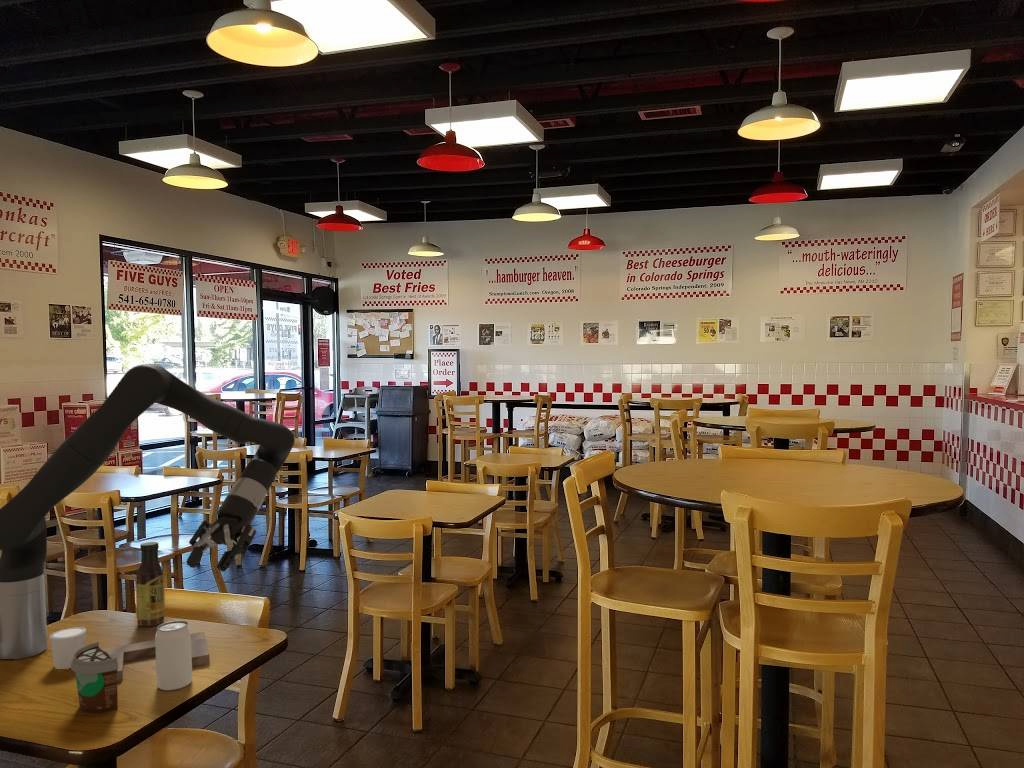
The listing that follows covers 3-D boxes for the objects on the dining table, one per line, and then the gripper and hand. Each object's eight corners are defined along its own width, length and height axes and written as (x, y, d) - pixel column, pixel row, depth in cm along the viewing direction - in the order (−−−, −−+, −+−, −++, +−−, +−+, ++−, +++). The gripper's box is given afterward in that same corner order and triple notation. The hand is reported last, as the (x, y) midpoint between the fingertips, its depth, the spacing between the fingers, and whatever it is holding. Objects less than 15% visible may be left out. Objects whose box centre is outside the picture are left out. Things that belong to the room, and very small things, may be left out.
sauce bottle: (154, 628, 180) (151, 547, 180) (131, 627, 181) (128, 546, 181) (171, 619, 187) (168, 540, 186) (148, 618, 188) (145, 540, 187)
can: (179, 692, 145) (176, 632, 145) (149, 690, 147) (147, 630, 146) (199, 678, 152) (197, 620, 151) (171, 676, 153) (168, 618, 152)
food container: (64, 701, 143) (62, 650, 142) (99, 690, 147) (97, 640, 147) (83, 723, 134) (80, 668, 133) (120, 711, 138) (118, 658, 138)
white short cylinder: (76, 655, 165) (75, 624, 164) (94, 661, 161) (93, 629, 161) (44, 667, 159) (42, 635, 159) (61, 673, 155) (60, 640, 155)
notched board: (91, 685, 149) (91, 675, 149) (96, 658, 163) (95, 649, 163) (209, 663, 159) (209, 654, 159) (204, 640, 172) (204, 631, 172)
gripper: (209, 491, 166) (169, 555, 156) (258, 494, 161) (220, 561, 151) (228, 510, 172) (190, 573, 162) (276, 514, 166) (240, 580, 156)
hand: (205, 567), depth 156 cm, fingers open, 8 cm apart
